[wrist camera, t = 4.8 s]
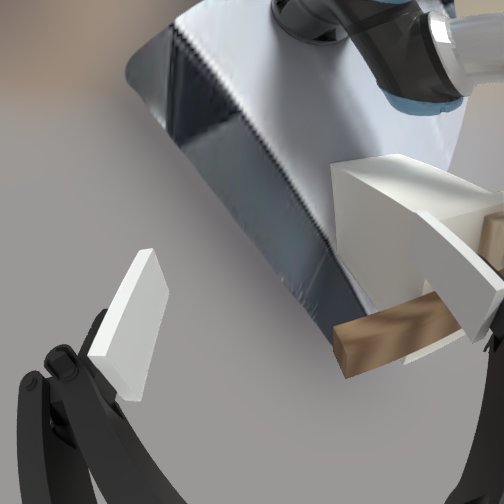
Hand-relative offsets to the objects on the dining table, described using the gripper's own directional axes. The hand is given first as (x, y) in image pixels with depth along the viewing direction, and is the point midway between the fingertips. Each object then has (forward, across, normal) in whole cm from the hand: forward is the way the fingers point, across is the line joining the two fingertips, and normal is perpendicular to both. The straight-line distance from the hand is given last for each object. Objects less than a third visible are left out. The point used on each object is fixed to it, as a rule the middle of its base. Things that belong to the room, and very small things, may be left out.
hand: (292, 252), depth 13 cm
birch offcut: (+10, +27, -8) cm, 30 cm away
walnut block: (+9, +18, -15) cm, 26 cm away
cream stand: (+40, +22, -16) cm, 48 cm away
